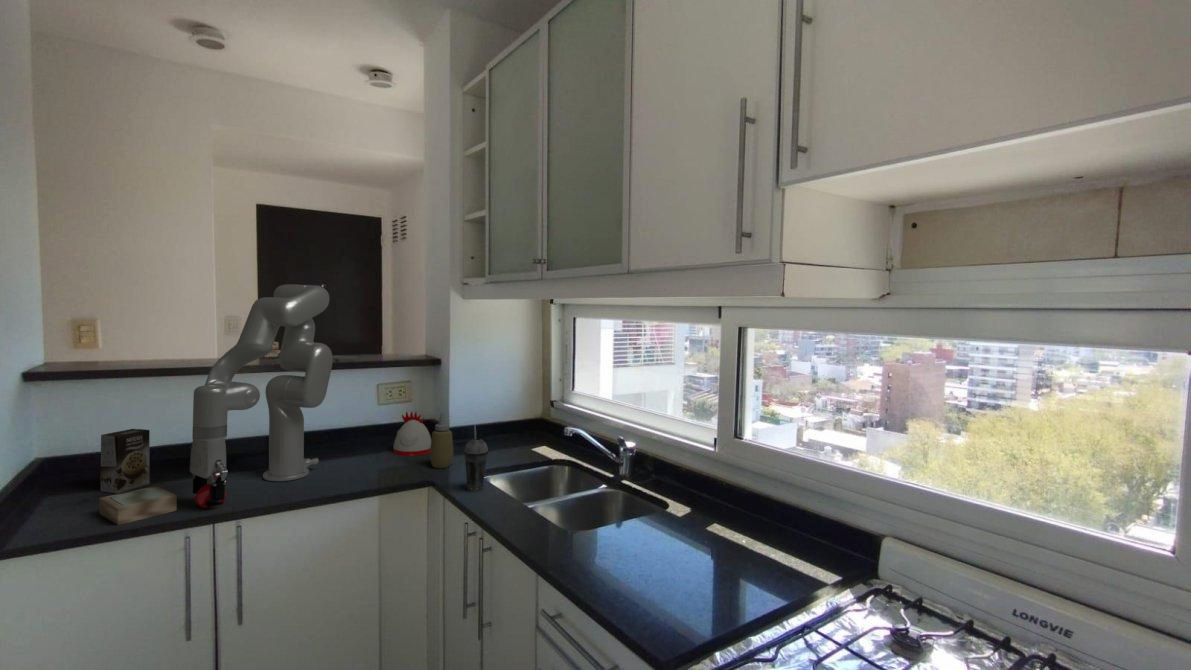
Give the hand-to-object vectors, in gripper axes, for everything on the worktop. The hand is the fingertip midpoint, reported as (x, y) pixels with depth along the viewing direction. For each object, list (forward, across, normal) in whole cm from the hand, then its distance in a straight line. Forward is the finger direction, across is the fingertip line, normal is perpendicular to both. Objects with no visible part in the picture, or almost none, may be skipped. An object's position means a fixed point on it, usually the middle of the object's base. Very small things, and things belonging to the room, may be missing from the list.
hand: (208, 496), depth 147 cm
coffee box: (+3, -32, -7) cm, 33 cm away
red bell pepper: (+3, 0, +1) cm, 3 cm away
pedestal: (+3, -8, -12) cm, 15 cm away
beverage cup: (+2, +46, +53) cm, 70 cm away
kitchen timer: (+1, -3, +70) cm, 70 cm away
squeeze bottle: (+1, +20, +63) cm, 66 cm away
